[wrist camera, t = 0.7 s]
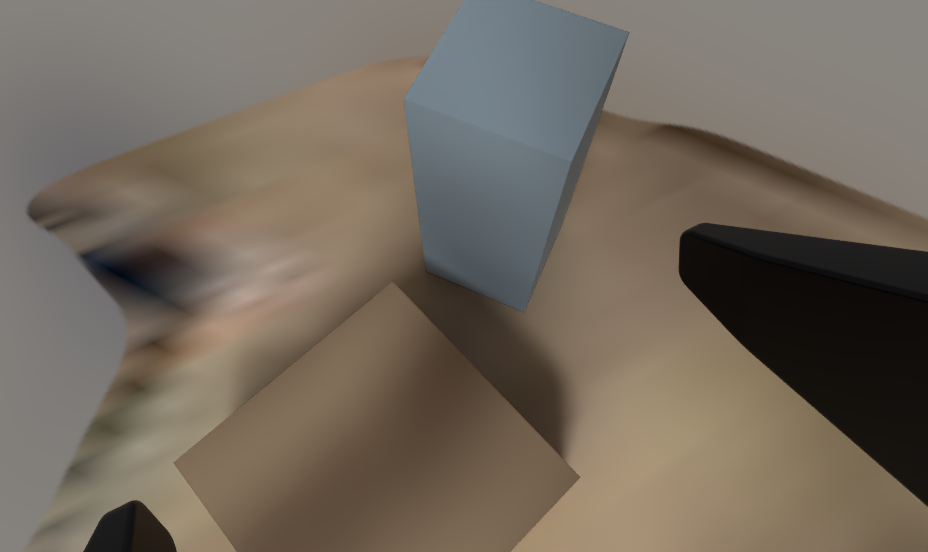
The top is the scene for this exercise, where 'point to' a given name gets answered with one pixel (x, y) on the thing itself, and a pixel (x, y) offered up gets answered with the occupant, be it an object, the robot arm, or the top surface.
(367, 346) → the base block
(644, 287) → the top surface
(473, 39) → the pillar
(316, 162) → the top surface
